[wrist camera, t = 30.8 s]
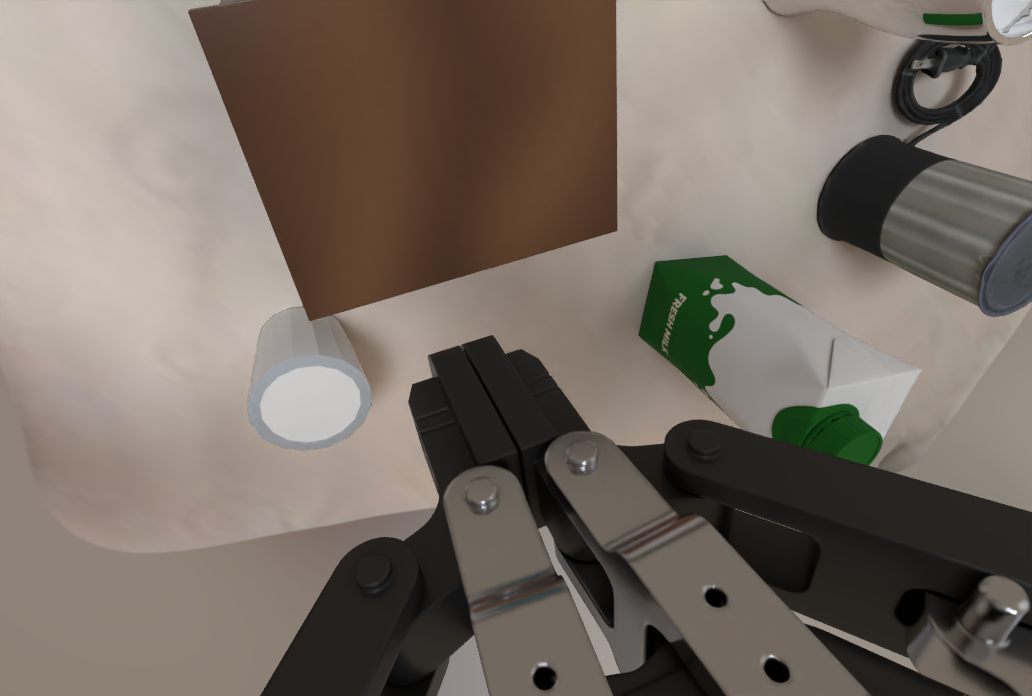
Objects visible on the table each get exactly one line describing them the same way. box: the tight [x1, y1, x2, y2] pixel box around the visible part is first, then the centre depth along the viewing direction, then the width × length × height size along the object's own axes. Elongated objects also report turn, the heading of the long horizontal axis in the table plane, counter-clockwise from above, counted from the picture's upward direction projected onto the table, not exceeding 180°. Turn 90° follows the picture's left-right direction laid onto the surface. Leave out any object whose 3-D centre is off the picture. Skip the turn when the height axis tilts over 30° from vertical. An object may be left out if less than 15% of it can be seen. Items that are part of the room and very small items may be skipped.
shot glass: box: [247, 307, 372, 451], centre depth 36 cm, size 7×7×7 cm
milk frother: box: [818, 40, 1032, 317], centre depth 42 cm, size 14×16×15 cm
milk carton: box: [639, 255, 921, 466], centre depth 41 cm, size 9×9×20 cm
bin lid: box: [188, 0, 617, 321], centre depth 27 cm, size 18×14×1 cm
